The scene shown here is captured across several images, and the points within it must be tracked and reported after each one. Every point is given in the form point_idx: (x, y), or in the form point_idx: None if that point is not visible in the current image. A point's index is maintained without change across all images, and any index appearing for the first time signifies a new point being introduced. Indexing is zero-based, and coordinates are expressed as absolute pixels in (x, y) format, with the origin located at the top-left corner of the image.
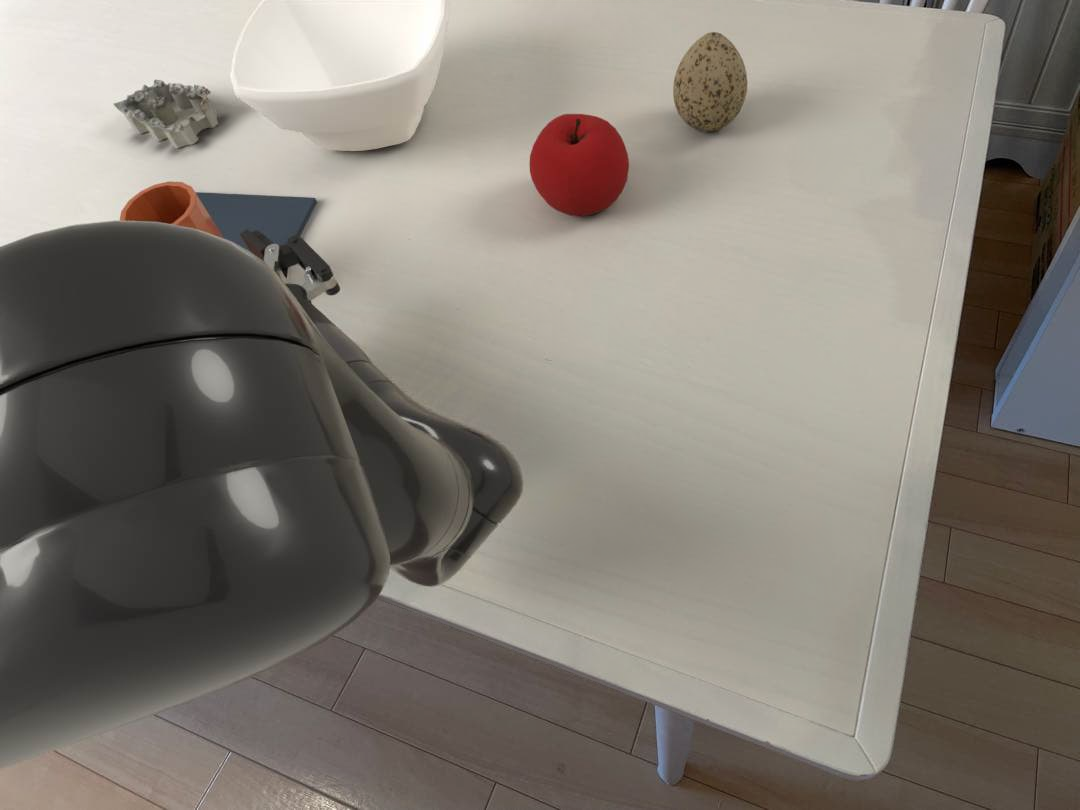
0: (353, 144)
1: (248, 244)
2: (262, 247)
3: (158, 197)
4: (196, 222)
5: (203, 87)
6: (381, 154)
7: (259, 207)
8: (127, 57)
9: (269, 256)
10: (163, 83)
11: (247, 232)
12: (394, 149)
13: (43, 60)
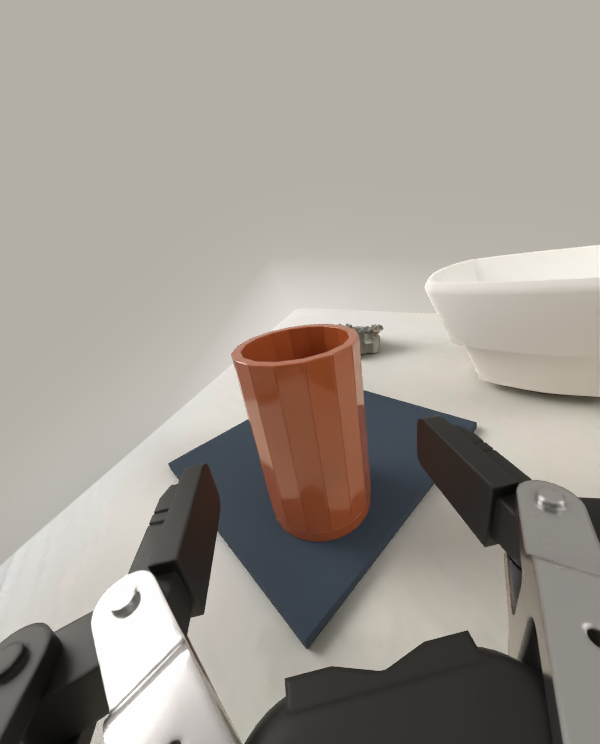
0: (538, 381)
1: (429, 450)
2: (500, 478)
3: (305, 341)
4: (340, 375)
5: (379, 325)
6: (566, 403)
7: (402, 412)
8: (336, 322)
9: (547, 528)
10: (351, 326)
11: (442, 422)
12: (587, 403)
13: (297, 320)
